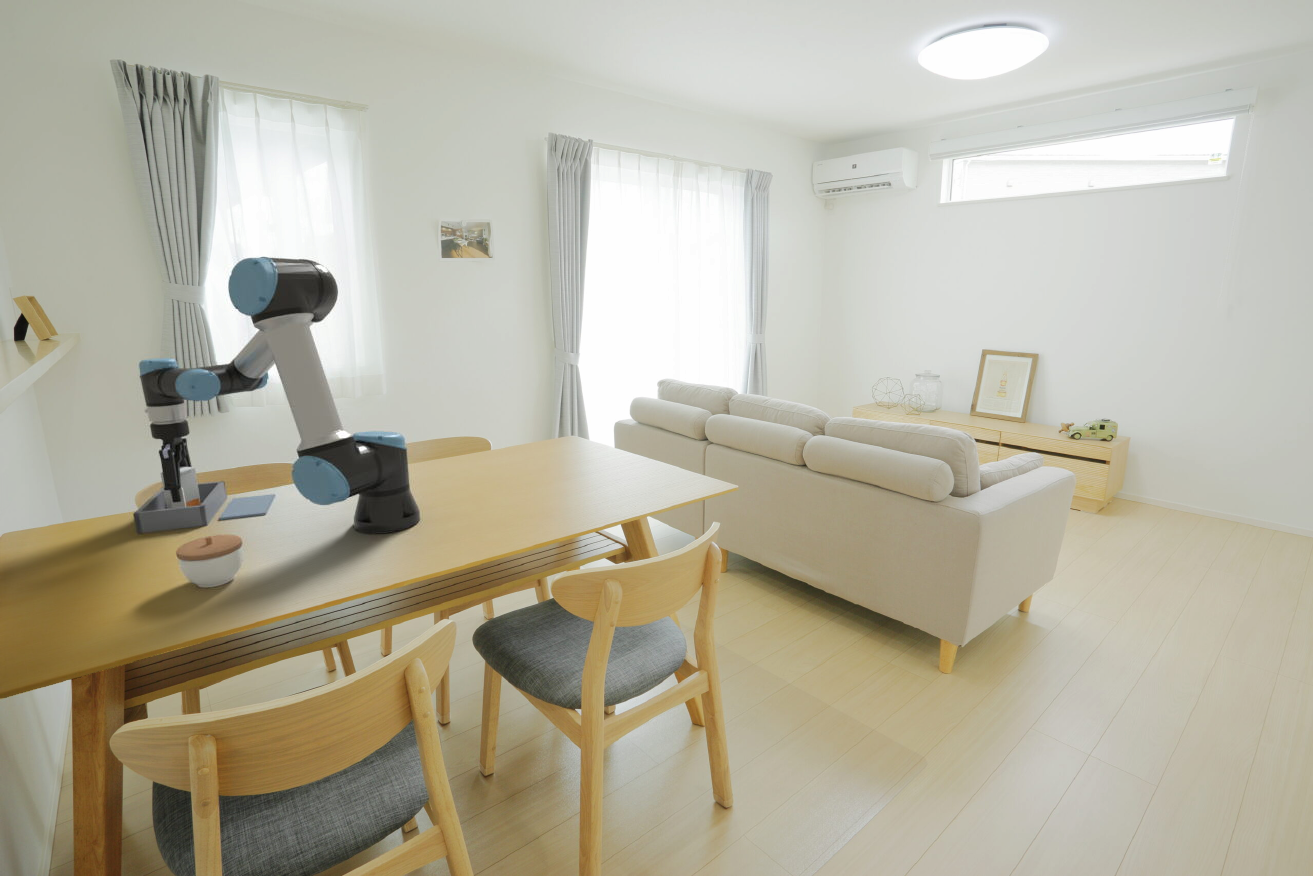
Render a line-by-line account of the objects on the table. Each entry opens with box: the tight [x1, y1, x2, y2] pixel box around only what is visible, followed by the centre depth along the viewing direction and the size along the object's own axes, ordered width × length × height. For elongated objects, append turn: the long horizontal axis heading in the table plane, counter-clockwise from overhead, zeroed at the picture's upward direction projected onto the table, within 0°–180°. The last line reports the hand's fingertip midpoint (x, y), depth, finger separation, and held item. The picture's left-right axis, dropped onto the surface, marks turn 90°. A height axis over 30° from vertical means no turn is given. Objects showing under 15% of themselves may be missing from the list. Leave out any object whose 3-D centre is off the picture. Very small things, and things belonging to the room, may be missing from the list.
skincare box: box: [160, 466, 202, 509], centre depth 161 cm, size 6×4×12 cm
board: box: [219, 493, 276, 521], centre depth 167 cm, size 16×10×1 cm, turn 23°
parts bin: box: [133, 480, 228, 535], centre depth 161 cm, size 22×14×5 cm, turn 23°
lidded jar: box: [175, 534, 244, 589], centre depth 125 cm, size 11×11×9 cm
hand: (184, 508), depth 162 cm, fingers closed on skincare box, 7 cm apart
